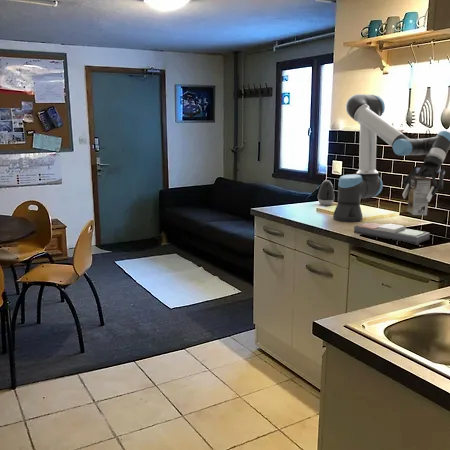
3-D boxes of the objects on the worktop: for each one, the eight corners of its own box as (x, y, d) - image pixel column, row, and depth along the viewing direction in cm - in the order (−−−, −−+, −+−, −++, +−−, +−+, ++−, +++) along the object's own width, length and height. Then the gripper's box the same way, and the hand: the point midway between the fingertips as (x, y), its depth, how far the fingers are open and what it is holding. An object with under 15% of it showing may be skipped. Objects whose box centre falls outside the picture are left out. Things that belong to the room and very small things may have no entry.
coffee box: (406, 210, 224) (409, 175, 220) (420, 211, 223) (424, 176, 220) (412, 215, 215) (416, 178, 211) (427, 215, 215) (431, 178, 211)
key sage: (397, 237, 217) (397, 232, 216) (407, 233, 224) (408, 229, 224) (415, 240, 211) (415, 235, 211) (425, 236, 219) (425, 231, 219)
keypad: (353, 232, 230) (354, 226, 229) (367, 228, 239) (368, 222, 239) (416, 244, 210) (417, 237, 209) (429, 239, 219) (429, 232, 219)
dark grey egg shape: (317, 205, 300) (318, 180, 297) (317, 202, 310) (318, 178, 307) (334, 206, 298) (336, 181, 295) (333, 203, 308) (335, 179, 305)
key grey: (377, 231, 223) (377, 226, 222) (388, 227, 231) (388, 223, 230) (394, 234, 217) (394, 229, 217) (404, 230, 225) (405, 225, 225)
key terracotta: (358, 230, 229) (358, 225, 229) (369, 226, 237) (369, 222, 237) (373, 233, 224) (374, 228, 224) (384, 229, 232) (385, 225, 231)
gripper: (461, 167, 217) (443, 207, 210) (412, 163, 233) (393, 200, 226) (458, 156, 213) (439, 196, 205) (408, 153, 228) (389, 190, 221)
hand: (415, 198), depth 216 cm, fingers closed on coffee box, 10 cm apart
